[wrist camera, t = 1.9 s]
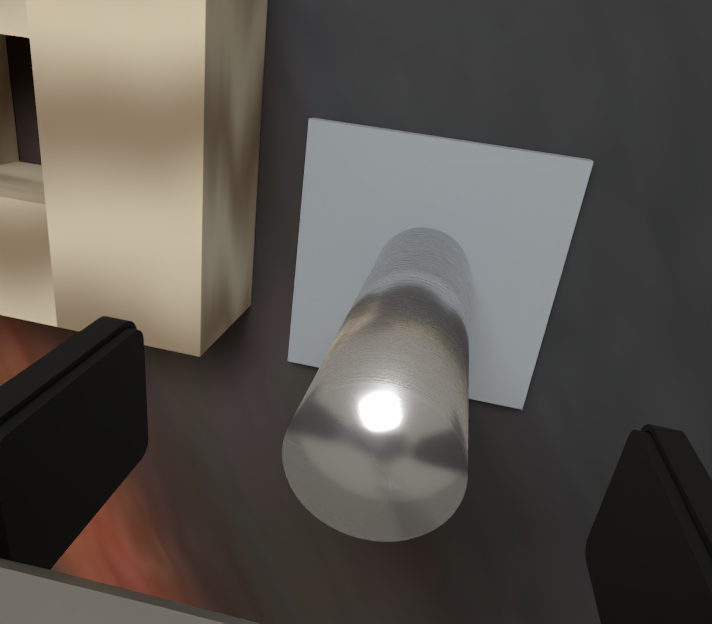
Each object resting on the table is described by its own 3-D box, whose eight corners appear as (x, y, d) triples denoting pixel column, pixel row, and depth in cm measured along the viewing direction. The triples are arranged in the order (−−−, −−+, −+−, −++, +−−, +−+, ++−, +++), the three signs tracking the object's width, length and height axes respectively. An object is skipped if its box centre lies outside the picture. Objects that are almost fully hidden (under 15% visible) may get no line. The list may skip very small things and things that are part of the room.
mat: (520, 402, 24) (522, 409, 23) (291, 354, 25) (287, 361, 24) (590, 159, 20) (593, 161, 19) (313, 117, 21) (308, 118, 20)
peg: (459, 324, 22) (447, 560, 11) (370, 307, 23) (275, 517, 12) (478, 236, 21) (486, 409, 10) (383, 219, 21) (289, 368, 10)
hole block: (250, 305, 24) (200, 356, 20) (-76, 241, 26) (-191, 274, 22) (271, -80, 19) (208, -131, 14) (-146, -125, 21) (-319, -183, 16)
